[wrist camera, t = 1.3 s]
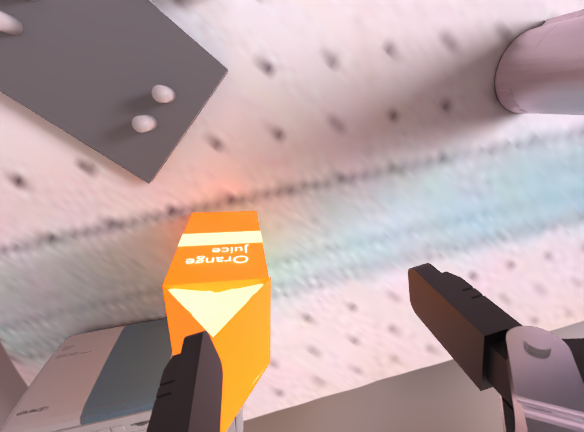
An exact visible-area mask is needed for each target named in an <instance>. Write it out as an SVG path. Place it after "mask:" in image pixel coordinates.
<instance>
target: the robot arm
mask: <svg viewBox="0 0 584 432" xmlns="http://www.w3.org/2000/svg"><path fill="white" fill-rule="evenodd" d="M495 87H496V93H497V97H498V99H499V101H500V103H501V104H502V105H503V107H504V108H505V109H507V110H509V111H511V112H516V113H540V114H569V115H584V9H583V10H580V11H576V12H572V13H569V14H565V15H561V16H558V17H554V18H550V19H547V20H546V21H545V23H544V24H543V25H541V26H540V27H537V28H533V29H529V30H528V31H526V32H524V33H522V34H521V35H519V36H518V37H517V38H516V39H515V40H514V41H513V42H512V43H511V44H510V45H509V46H508V48H507V50H506V51H505V53H504V54H503V56H502V58H501V60H500V63H499V66H498V69H497V72H496V80H495ZM408 280H409V293H410V302H411V305H412V307H413V310H414V311H415V313H416V315H417V316H418V317H419V318H420V319H421V321H422V322H423V323H424V324H425V325H426V327H427V328H428V329H429V330H430V331H431V332H432V334H433V335H434V336H435V337H436V338H437V340H438V341H439V342H440V343H441V344H442V346H443V347H444V348H445V349H446V350H447V351H448V353H449V354H450V355H451V356H452V357H453V359H454V360H455V361H456V362H457V363H458V364H459V366H460V367H461V368H462V369H463V370H464V372H465V373H466V374H467V375H468V376H469V378H470V379H471V380H472V381H473V382H474V383H475V385H476V386H477V387H478V388H479V389H480V391H482V390H485V389H488V388H491V387H494V388H495V389H496V390H497V391H498V393H499V394H500V407H501V415H502V423H503V431H504V432H584V338H582V339H560V338H559V337H558V336H556V335H555V334H553V333H551V332H549V331H546V330H544V329H541V328H537V327H532V326H522V325H521V324H520V323H518V322H517V321H516V320H515V319H513V318H512V317H511V316H509V315H508V314H507V313H506V312H504V311H503V310H502V309H501V308H499V307H498V306H497V305H495V304H494V303H493V302H492V301H490V300H489V299H488V298H486V297H485V296H483V295H482V294H481V293H480V292H479V291H478V290H476V289H475V288H474V289H473V287H472V286H471V285H470V284H469V283H467V282H466V281H465V280H463V279H462V278H461V277H458V276H456V275H453V274H451V273H449V272H444V273H441V272H440V271H438V270H437V269H436V268H435V267H434V266H432V265H431V264H429V263H426V264H423V265H419V266H416V267H413V268H410V269H409V270H408ZM159 385H160V387H159V388H158V392H157V395H156V400H155V402H154V406H153V409H152V413H151V417H150V420H149V424H148V427H147V431H146V432H220V424H221V406H222V388H223V368H222V363H221V360H220V357H219V355H218V353H217V351H216V348H215V346H214V344H213V342H212V340H211V338H210V335H209V333H208V332H207V331H206V330H205V331H201V332H198V333H195V334H192V335H188V336H186V337H185V338H184V340H183V344H182V349H181V353H180V354H177V355H173V356H172V358H171V359H170V361H169V362H168V364H167V365H166V367H165V368H164V370H163V374H162V377H161V381H160V384H159Z"/></svg>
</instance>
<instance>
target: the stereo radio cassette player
mask: <svg viewBox="0 0 584 432" xmlns="http://www.w3.org/2000/svg"><path fill="white" fill-rule="evenodd" d="M172 356H173V352H172V345H171V339H170V332H169V326H168V319H167V318H164V319H159V320H153V321H148V322H142V323H136V324H131V325H127V326H126V325H125V326H120V327H114V328H109V329H103V330H98V331H92V332H86V333H81V334H76V335H72V336H70V337H68V338H67V339H65V341H64V342H63V343H62V344H61V345H60V346H59V347H58V349H57V350H56V351H55V353H54V354H53V355H52V356H51V358H50V359H49V360H48V362H47V363H46V364H45V366H44V367H43V368H42V370H41V371H40V372H39V374H38V375H37V376H36V378H35V379H34V381H33V382H32V383H31V385H30V386H29V387H28V389H27V390H26V392H25V393H24V395H23V396H22V397H21V399H20V400H19V402H18V403H17V405H16V406H15V408H14V409H13V410H12V412H11V413H10V415H9V416H8V417H7V419H6V421H5V422H4V424H3V426H2V427H1V429H0V432H146V431H147V427H148V424H149V420H150V417H151V413H152V409H153V406H154V402H155V400H156V395H157V392H158V388H159V387H160V385H159V384H160V381H161V377H162V374H163V370H164V368H165V367H166V365H167V364H168V362H169V361H170V359H171V358H172ZM226 432H243V406H242V407H241V409H240V410H239V412H238V413H237V415H236V417H235V418H234V420H233V421H232V423H231V424H230V426H229V428H228V429H227V431H226Z"/></svg>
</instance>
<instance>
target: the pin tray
mask: <svg viewBox="0 0 584 432" xmlns="http://www.w3.org/2000/svg"><path fill="white" fill-rule="evenodd" d="M227 72H228V69H227V68H225V67H224V66H223V65H222V64H221V63H220V62H218V61H217V60H216V59H215V58H214V57H213V56H212V55H210V54H209V53H208V52H207V51H206V50H205V49H203V48H202V47H201V46H200V45H199V44H198V43H197V42H195V41H194V40H193V39H192V38H191V37H190V36H188V35H187V34H186V33H185V32H184V31H183V30H182V29H180V28H179V27H178V26H177V25H176V24H175V23H174V22H172V21H171V20H170V19H169V18H168V17H167V16H165V15H164V14H163V13H162V12H161V11H160V10H159V9H157V8H156V7H155V6H154V5H153V4H152V3H150V2H149V1H148V0H0V91H1V92H3V93H4V94H6V95H7V96H9V97H11V98H12V99H14V100H15V101H17V102H19V103H20V104H22V105H24V106H25V107H27V108H28V109H30V110H32V111H33V112H35V113H36V114H38V115H40V116H41V117H43V118H44V119H46V120H48V121H49V122H51V123H52V124H54V125H56V126H57V127H59V128H60V129H62V130H64V131H65V132H67V133H69V134H70V135H72V136H73V137H75V138H77V139H78V140H80V141H81V142H83V143H85V144H86V145H88V146H89V147H91V148H93V149H94V150H96V151H97V152H99V153H101V154H102V155H104V156H105V157H107V158H109V159H110V160H112V161H114V162H115V163H117V164H118V165H120V166H122V167H123V168H125V169H126V170H128V171H130V172H131V173H133V174H134V175H136V176H138V177H139V178H141V179H142V180H144V181H146V182H147V183H150V182H151V181H152V180H153V179H154V178H155V176H156V175H157V173H158V172H159V170H160V169H161V168H162V166H163V165H164V163H165V162H166V160H167V159H168V158H169V156H170V155H171V153H172V152H173V150H174V149H175V147H176V146H177V145H178V143H179V142H180V140H181V139H182V137H183V136H184V134H185V133H186V132H187V130H188V129H189V127H190V126H191V124H192V123H193V121H194V120H195V119H196V117H197V116H198V114H199V113H200V111H201V110H202V108H203V107H204V106H205V104H206V103H207V101H208V100H209V98H210V97H211V96H212V94H213V93H214V91H215V90H216V88H217V87H218V85H219V84H220V83H221V81H222V80H223V78H224V77H225V75H226V74H227Z"/></svg>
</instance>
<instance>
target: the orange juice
mask: <svg viewBox="0 0 584 432" xmlns="http://www.w3.org/2000/svg"><path fill="white" fill-rule="evenodd" d="M162 287H163V293H164V300H165V306H166V313H167V319H168V326H169V332H170V339H171V345H172V352H173V355H177V354H180V353H181V349H182V344H183V340H184V338H185V337H186V336H188V335H192V334H195V333H198V332H201V331H205V330H206V331H207V332H208V333H209V335H210V338H211V340H212V342H213V344H214V346H215V348H216V351H217V353H218V355H219V357H220V360H221V363H222V368H223V388H222V406H221V424H220V432H226V431H227V429H228V428H229V426H230V424H231V423H232V421H233V420H234V418H235V417H236V415H237V413H238V412H239V410H240V409H241V407H242V406H243V404H244V402H245V401H246V399H247V398H248V396H249V395H250V393H251V391H252V390H253V388H254V387H255V385H256V384H257V382H258V380H259V379H260V377H261V376H262V374H263V373H264V371H265V369H266V368H267V366H268V365H269V363H270V297H271V277H270V278H269V276H268V271H267V265H266V260H265V255H264V249H263V241H262V236H261V231H260V228H259V223H258V217H257V212H256V211H241V212H208V213H192V214H191V216H190V219H189V221H188V224H187V226H186V229H185V231H184V234H183V235H182V237H181V239H180V242H179V244H178V248H177V251H176V253H175V256H174V258H173V261H172V263H171V266H170V268H169V270H168V273H167V275H166V278H165V280H164V283H163V284H162Z"/></svg>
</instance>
